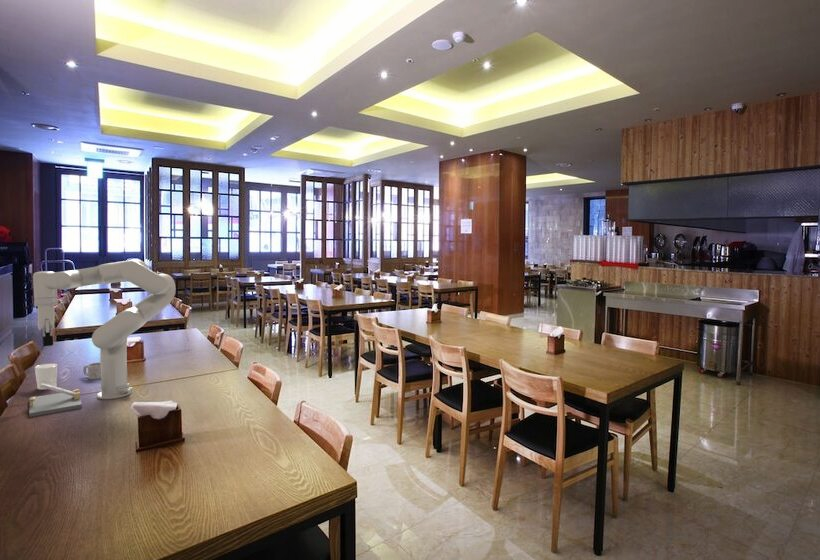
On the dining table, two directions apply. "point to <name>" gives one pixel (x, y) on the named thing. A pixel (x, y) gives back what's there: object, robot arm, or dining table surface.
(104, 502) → the dining table surface
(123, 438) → the dining table surface
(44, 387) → the bar
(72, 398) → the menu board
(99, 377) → the mug
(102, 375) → the robot arm
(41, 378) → the white cup
